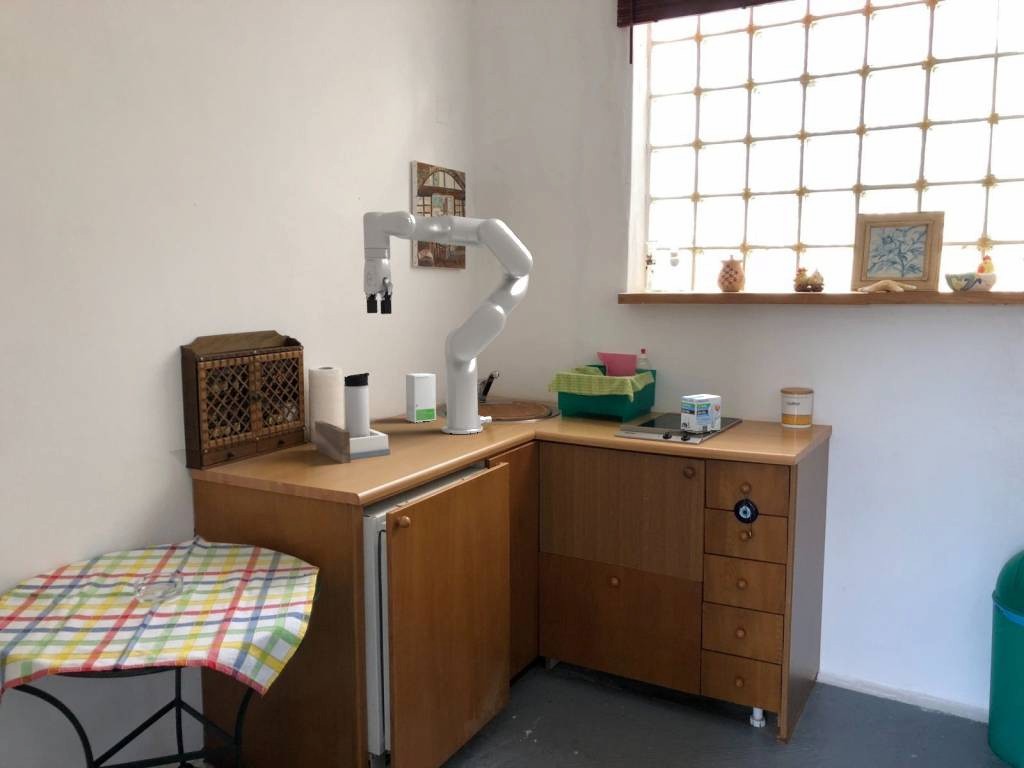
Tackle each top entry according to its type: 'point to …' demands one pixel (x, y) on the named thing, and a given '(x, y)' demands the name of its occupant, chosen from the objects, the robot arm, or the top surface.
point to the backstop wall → (332, 441)
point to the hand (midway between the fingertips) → (379, 313)
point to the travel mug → (357, 405)
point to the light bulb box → (701, 412)
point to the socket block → (369, 445)
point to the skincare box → (420, 397)
